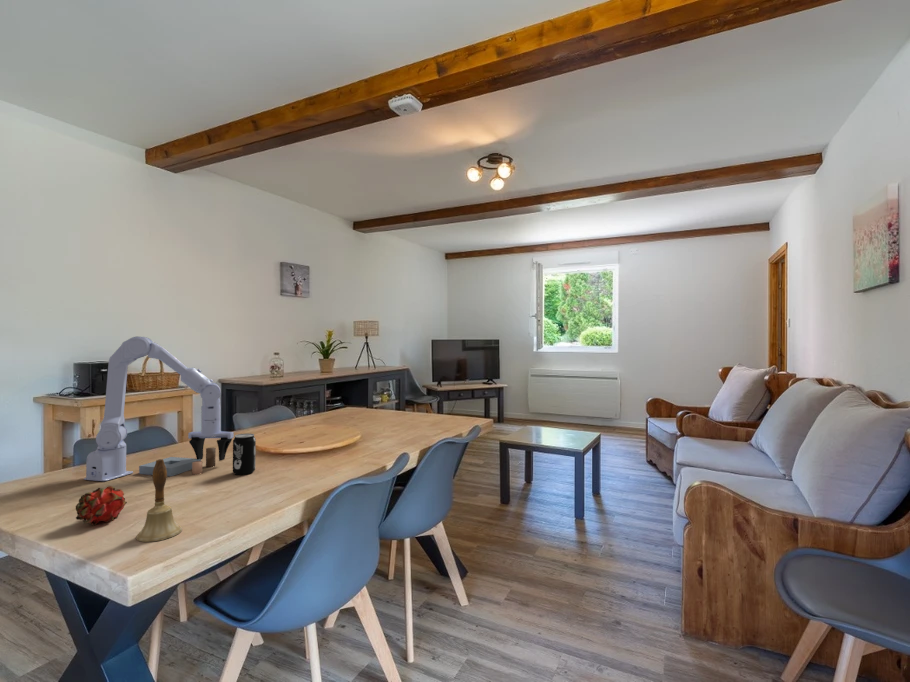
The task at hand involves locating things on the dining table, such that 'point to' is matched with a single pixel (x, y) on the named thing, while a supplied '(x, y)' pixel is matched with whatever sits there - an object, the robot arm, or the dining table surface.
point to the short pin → (197, 467)
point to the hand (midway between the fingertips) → (211, 459)
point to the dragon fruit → (100, 505)
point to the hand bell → (159, 511)
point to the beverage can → (244, 454)
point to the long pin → (210, 457)
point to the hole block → (170, 466)
